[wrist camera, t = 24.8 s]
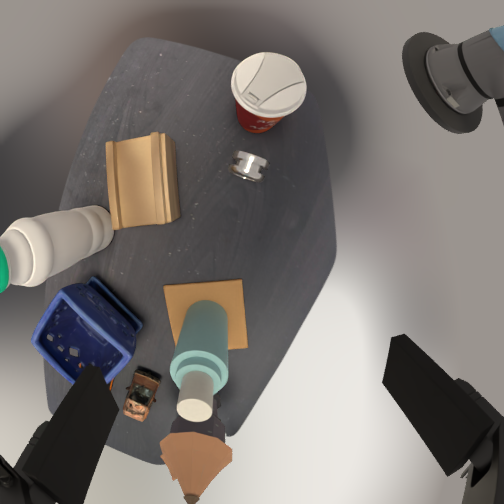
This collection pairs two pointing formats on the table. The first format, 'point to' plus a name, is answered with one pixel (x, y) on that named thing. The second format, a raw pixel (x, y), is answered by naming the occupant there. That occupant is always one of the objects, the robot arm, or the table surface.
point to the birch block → (142, 181)
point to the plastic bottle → (200, 359)
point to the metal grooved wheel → (248, 166)
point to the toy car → (141, 395)
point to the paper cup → (266, 90)
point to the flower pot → (87, 331)
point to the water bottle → (51, 244)
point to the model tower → (196, 452)
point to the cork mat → (216, 291)
